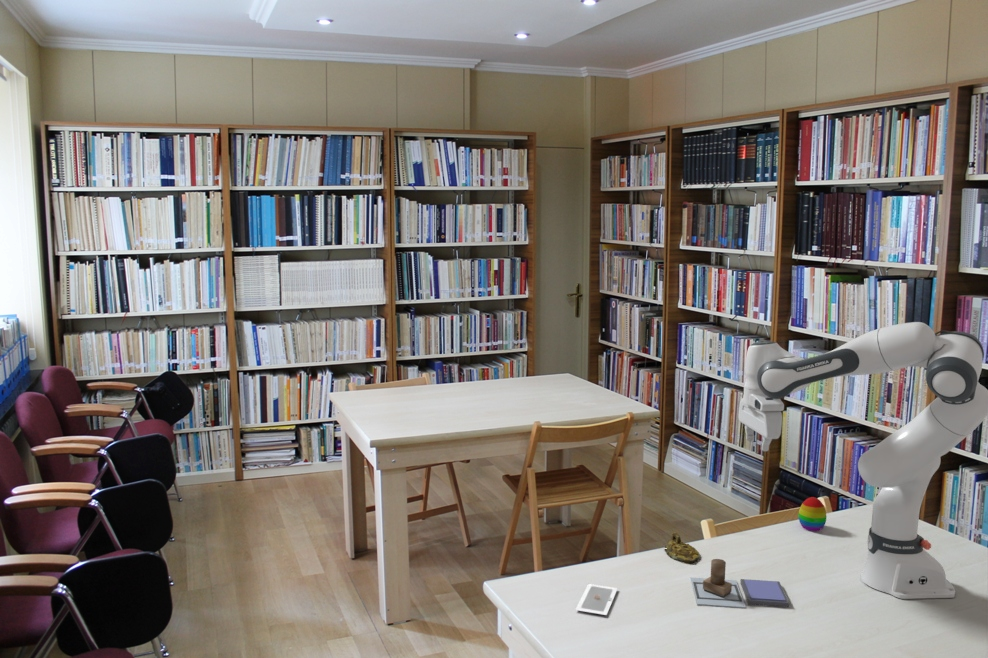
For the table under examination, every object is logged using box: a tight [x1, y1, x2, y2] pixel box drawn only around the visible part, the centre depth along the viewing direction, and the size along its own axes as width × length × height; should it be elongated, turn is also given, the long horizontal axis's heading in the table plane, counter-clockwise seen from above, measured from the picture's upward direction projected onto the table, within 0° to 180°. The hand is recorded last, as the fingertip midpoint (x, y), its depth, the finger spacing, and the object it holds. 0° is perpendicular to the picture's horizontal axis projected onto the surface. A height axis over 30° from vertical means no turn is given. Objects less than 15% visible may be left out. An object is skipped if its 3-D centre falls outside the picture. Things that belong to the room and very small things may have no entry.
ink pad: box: [739, 578, 790, 608], centre depth 209 cm, size 10×12×2 cm
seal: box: [664, 531, 701, 565], centre depth 234 cm, size 9×5×15 cm
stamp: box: [703, 558, 732, 598], centre depth 209 cm, size 6×4×8 cm, turn 45°
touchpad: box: [575, 583, 619, 616], centre depth 205 cm, size 8×15×2 cm, turn 161°
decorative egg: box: [798, 496, 827, 532], centre depth 253 cm, size 8×8×10 cm
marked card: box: [690, 576, 747, 609], centre depth 210 cm, size 12×15×1 cm
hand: (757, 445), depth 228 cm, fingers open, 8 cm apart
